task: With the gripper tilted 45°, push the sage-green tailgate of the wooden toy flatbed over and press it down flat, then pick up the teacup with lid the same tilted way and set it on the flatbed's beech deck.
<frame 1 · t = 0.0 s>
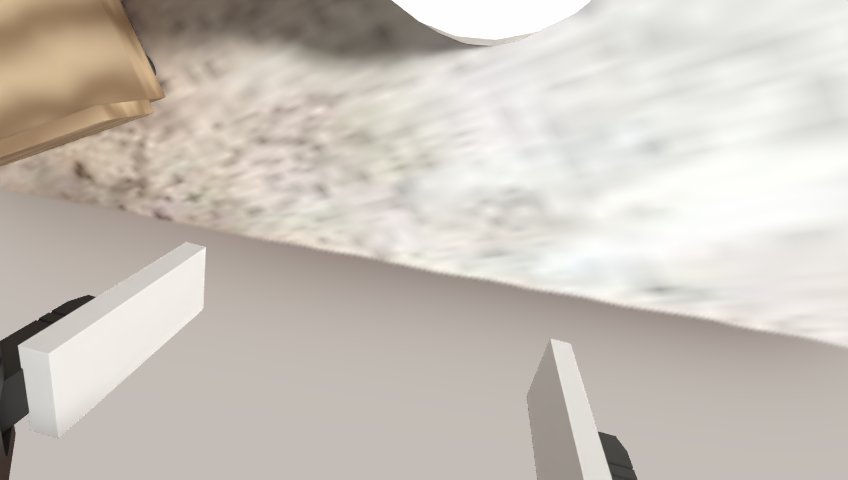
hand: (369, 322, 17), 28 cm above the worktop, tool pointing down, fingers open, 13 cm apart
flatbed: (50, 39, 43), on the worktop
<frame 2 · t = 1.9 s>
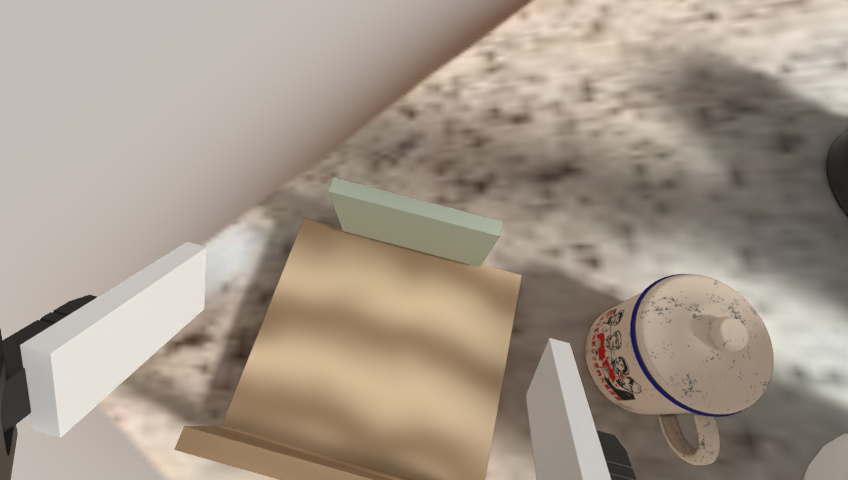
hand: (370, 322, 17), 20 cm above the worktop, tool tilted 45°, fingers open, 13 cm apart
tailgate: (415, 222, 32), point 8 cm above the worktop, hinge at -4.0°
flatbed: (384, 350, 36), on the worktop
teacup with lid: (637, 377, 37), on the worktop
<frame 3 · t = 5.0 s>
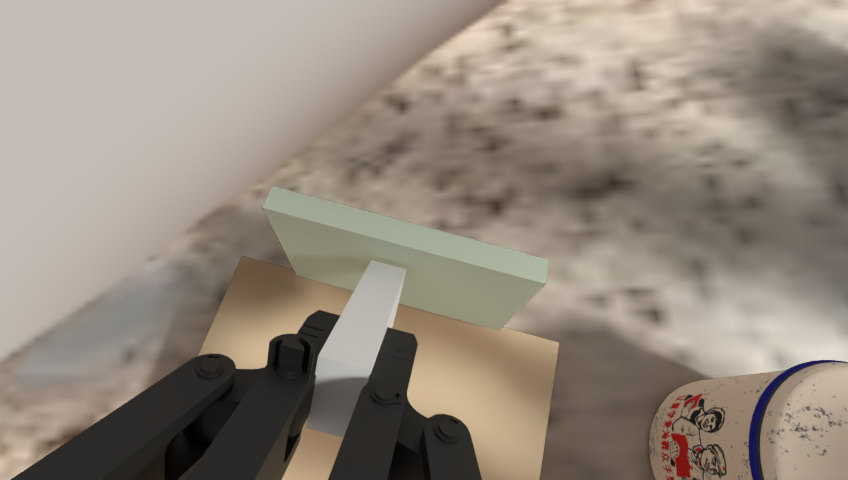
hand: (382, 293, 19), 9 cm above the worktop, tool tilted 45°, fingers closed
tailgate: (403, 263, 21), point 8 cm above the worktop, hinge at 3.2°, touching gripper
flatbed: (357, 450, 25), on the worktop
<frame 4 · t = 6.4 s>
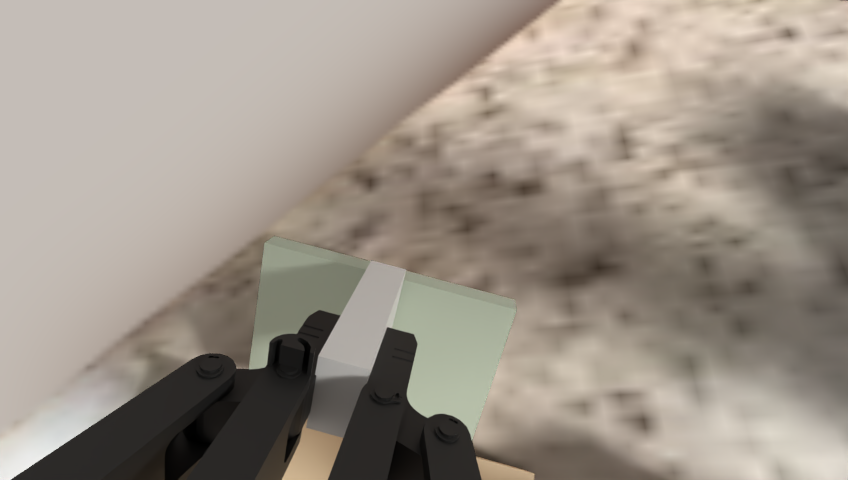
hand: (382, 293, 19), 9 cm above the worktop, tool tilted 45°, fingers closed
tailgate: (375, 342, 21), point 6 cm above the worktop, hinge at 49.1°, touching gripper
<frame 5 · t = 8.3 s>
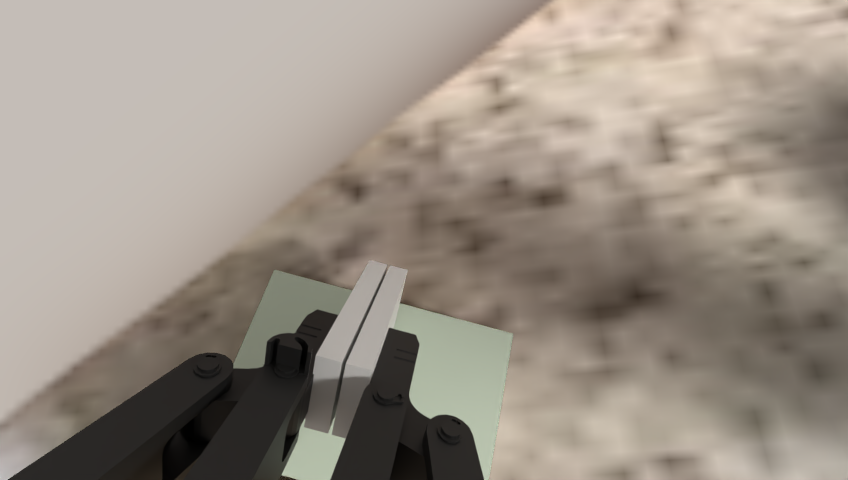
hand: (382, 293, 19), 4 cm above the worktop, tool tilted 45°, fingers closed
tailgate: (367, 390, 19), point 2 cm above the worktop, hinge at 94.1°, touching gripper
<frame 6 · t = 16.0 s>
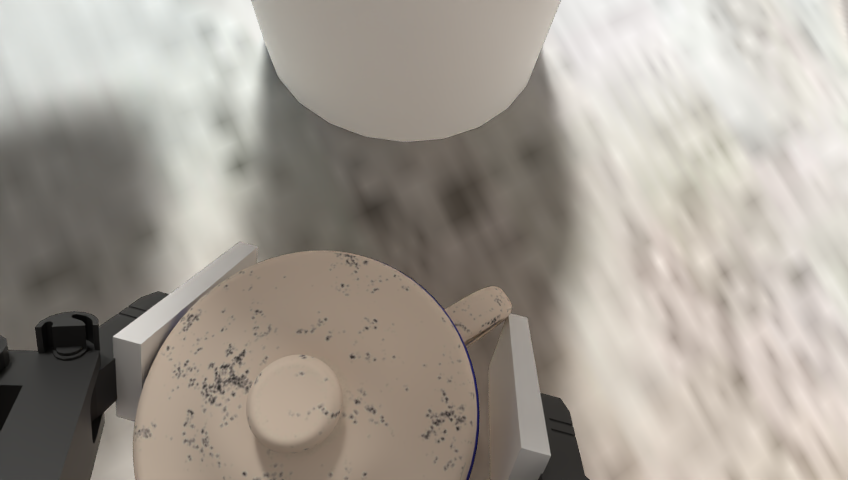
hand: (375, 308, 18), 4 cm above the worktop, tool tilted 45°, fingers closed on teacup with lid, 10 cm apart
cylinder: (404, 30, 29), on the worktop
teacup with lid: (370, 396, 21), on the worktop, touching gripper
when the fingers open (9 cm above the worktop, at t = 22.4 s): teacup with lid drops 1 cm, resting on flatbed.
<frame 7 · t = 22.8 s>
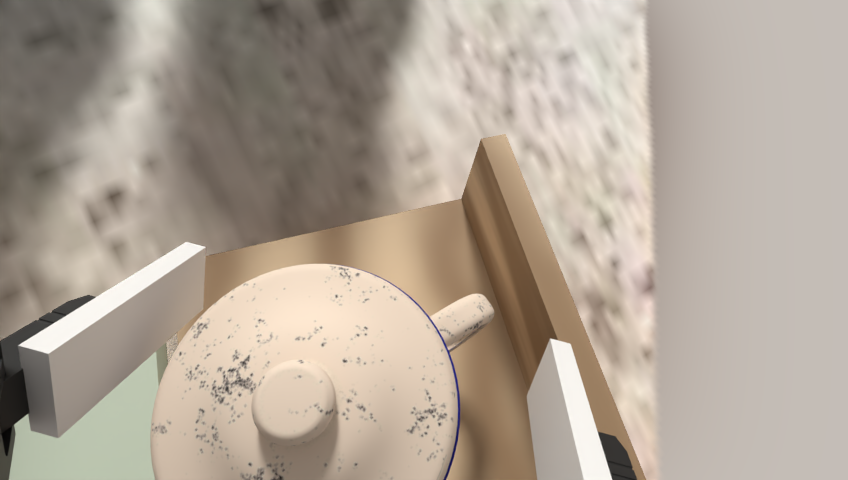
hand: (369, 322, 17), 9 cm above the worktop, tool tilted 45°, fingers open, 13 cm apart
tailgate: (86, 476, 20), point 2 cm above the worktop, hinge at 94.1°
flatbed: (363, 399, 25), on the worktop
teacup with lid: (366, 395, 22), point 3 cm above the worktop, touching flatbed
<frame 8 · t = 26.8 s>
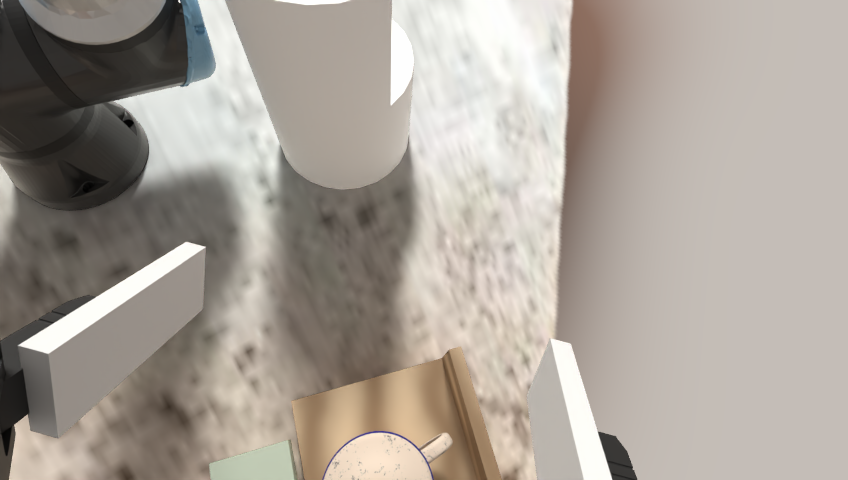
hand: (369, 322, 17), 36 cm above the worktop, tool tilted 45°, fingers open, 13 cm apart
cylinder: (345, 134, 62), on the worktop
flatbed: (389, 469, 47), on the worktop
teacup with lid: (392, 471, 45), point 3 cm above the worktop, touching flatbed
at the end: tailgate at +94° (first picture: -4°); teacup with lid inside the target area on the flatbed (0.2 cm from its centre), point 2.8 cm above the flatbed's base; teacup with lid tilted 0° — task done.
